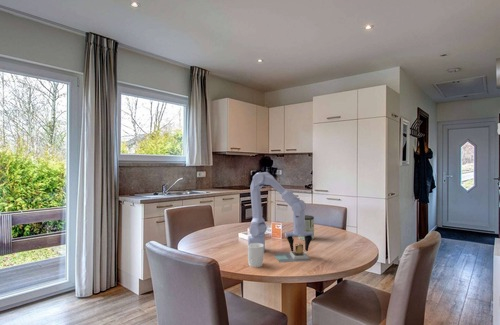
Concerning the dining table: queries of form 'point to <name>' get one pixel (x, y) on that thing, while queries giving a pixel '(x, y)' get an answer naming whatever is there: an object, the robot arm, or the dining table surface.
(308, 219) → the coffee can
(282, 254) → the gray board
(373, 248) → the dining table surface
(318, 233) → the dining table surface
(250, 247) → the white cup
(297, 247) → the cell
